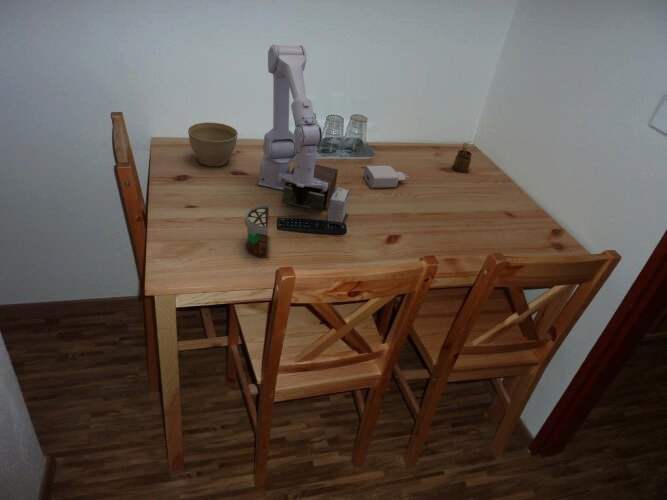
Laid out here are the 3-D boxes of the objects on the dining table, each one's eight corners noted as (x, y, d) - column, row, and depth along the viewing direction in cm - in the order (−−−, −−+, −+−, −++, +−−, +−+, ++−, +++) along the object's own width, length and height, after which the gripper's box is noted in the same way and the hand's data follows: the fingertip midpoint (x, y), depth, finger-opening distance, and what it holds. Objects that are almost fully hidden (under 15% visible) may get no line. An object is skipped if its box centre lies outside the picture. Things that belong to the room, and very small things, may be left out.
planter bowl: (232, 174, 170) (233, 143, 164) (183, 168, 169) (182, 137, 163) (240, 154, 183) (241, 125, 177) (195, 148, 182) (194, 119, 176)
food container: (245, 232, 143) (246, 202, 137) (267, 234, 143) (269, 203, 138) (242, 259, 133) (243, 226, 127) (266, 260, 133) (268, 228, 128)
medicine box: (341, 227, 152) (345, 201, 147) (326, 223, 152) (330, 198, 147) (345, 214, 158) (349, 189, 153) (331, 211, 159) (335, 186, 154)
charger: (411, 188, 179) (371, 189, 174) (401, 176, 186) (363, 176, 181) (414, 176, 176) (374, 176, 171) (404, 164, 183) (365, 164, 179)
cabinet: (325, 210, 159) (328, 188, 154) (283, 201, 160) (285, 179, 156) (335, 189, 170) (338, 169, 166) (296, 181, 172) (297, 160, 167)
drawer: (317, 222, 151) (319, 205, 147) (277, 213, 152) (278, 196, 148) (330, 193, 166) (333, 177, 163) (294, 185, 167) (295, 169, 164)
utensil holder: (469, 169, 198) (478, 140, 192) (464, 174, 194) (473, 145, 187) (455, 164, 201) (464, 135, 194) (450, 169, 196) (458, 140, 189)
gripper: (276, 165, 142) (273, 207, 150) (326, 176, 140) (320, 218, 148) (283, 155, 148) (280, 196, 155) (331, 166, 146) (326, 206, 154)
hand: (300, 206), depth 152 cm, fingers closed
